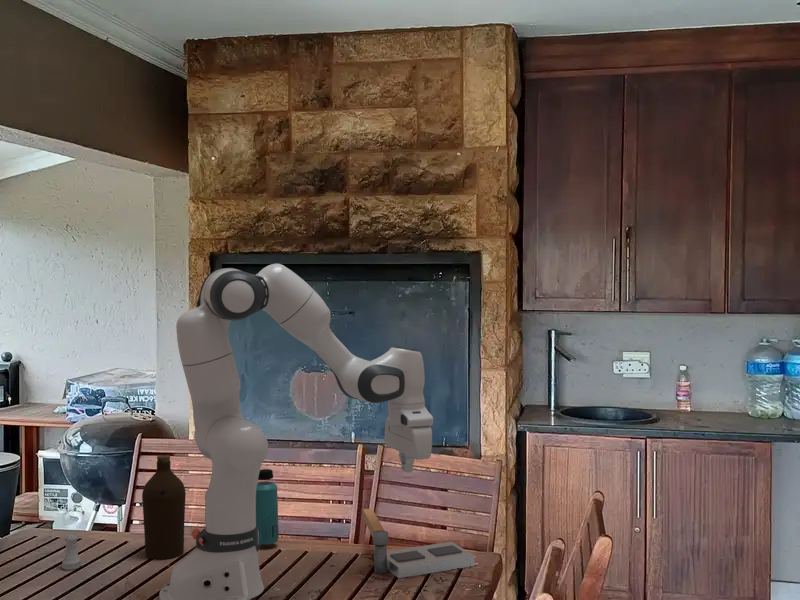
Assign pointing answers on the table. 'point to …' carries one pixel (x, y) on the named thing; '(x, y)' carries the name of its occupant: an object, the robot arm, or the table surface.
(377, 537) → the swing bar
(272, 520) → the beverage bottle
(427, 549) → the block
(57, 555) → the table surface
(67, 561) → the rook chess piece
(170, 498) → the olive oil
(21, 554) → the table surface
